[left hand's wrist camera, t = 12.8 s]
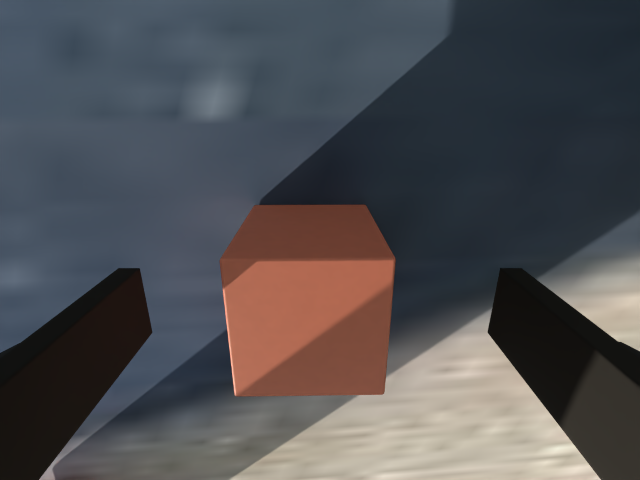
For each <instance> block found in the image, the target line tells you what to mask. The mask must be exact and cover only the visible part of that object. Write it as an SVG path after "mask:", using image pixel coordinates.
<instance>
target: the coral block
mask: <svg viewBox="0 0 640 480" xmlns="http://www.w3.org/2000/svg"><path fill="white" fill-rule="evenodd" d="M395 262H396V259H395V257H394V255H393V253H392V251H391V250H390V248H389V246H388V244H387V242H386V241H385V239H384V237H383V235H382V233H381V232H380V230H379V228H378V226H377V224H376V223H375V221H374V219H373V217H372V215H371V214H370V212H369V210H368V208H367V206H366V205H255V206H254V207H253V208H252V210H251V211H250V213H249V214H248V216H247V218H246V219H245V221H244V222H243V224H242V225H241V227H240V229H239V230H238V232H237V233H236V235H235V236H234V238H233V240H232V241H231V243H230V244H229V246H228V248H227V249H226V251H225V252H224V254H223V255H222V257H221V259H220V268H221V277H222V286H223V295H224V304H225V313H226V322H227V331H228V340H229V348H230V357H231V366H232V375H233V384H234V393H235V396H309V395H382V394H384V392H385V380H386V368H387V356H388V344H389V333H390V321H391V309H392V297H393V285H394V273H395Z"/></svg>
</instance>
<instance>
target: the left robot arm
mask: <svg viewBox="0 0 640 480" xmlns="http://www.w3.org/2000/svg"><path fill="white" fill-rule="evenodd" d="M151 334H152V328H151V323H150V318H149V313H148V308H147V303H146V298H145V293H144V288H143V283H142V278H141V272H140V268H118V269H117V270H116V271H114V272H113V273H112V274H110V275H109V276H108V277H107V278H105V279H104V280H103V281H101V282H100V283H99V284H97V285H96V286H95V287H93V288H92V289H91V290H89V291H88V292H87V293H86V294H84V295H83V296H82V297H80V298H79V299H78V300H76V301H75V302H74V303H72V304H71V305H70V306H68V307H67V308H66V309H64V310H63V311H62V312H61V313H59V314H58V315H57V316H55V317H54V318H53V319H51V320H50V321H49V322H47V323H46V324H45V325H43V326H42V327H41V328H40V329H38V330H37V331H36V332H34V333H33V334H32V335H30V336H29V337H28V338H26V339H25V340H24V341H22V342H21V343H19V344H17V345H15V346H13V347H11V348H9V349H7V350H5V351H3V352H1V353H0V480H39V479H40V478H41V476H42V475H43V474H44V472H45V471H46V470H47V468H48V467H49V466H50V465H51V463H52V462H53V461H54V459H55V458H56V457H57V455H58V454H59V453H60V452H61V450H62V449H63V448H64V446H65V445H66V444H67V443H68V441H69V440H70V439H71V437H72V436H73V435H74V433H75V432H76V431H77V430H78V428H79V427H80V426H81V424H82V423H83V422H84V420H85V419H86V418H87V417H88V415H89V414H90V413H91V411H92V410H93V409H94V408H95V406H96V405H97V404H98V402H99V401H100V400H101V398H102V397H103V396H104V395H105V393H106V392H107V391H108V389H109V388H110V387H111V385H112V384H113V383H114V382H115V380H116V379H117V378H118V376H119V375H120V374H121V373H122V371H123V370H124V369H125V367H126V366H127V365H128V363H129V362H130V361H131V360H132V358H133V357H134V356H135V354H136V353H137V352H138V350H139V349H140V348H141V347H142V345H143V344H144V343H145V341H146V340H147V339H148V337H149V336H150V335H151ZM488 334H489V335H490V336H491V337H492V339H493V340H494V341H495V343H496V344H497V345H498V347H499V348H500V349H501V350H502V352H503V353H504V354H505V356H506V357H507V358H508V360H509V361H510V362H511V363H512V365H513V366H514V367H515V369H516V370H517V371H518V373H519V374H520V375H521V376H522V378H523V379H524V380H525V382H526V383H527V384H528V385H529V387H530V388H531V389H532V391H533V392H534V393H535V395H536V396H537V397H538V398H539V400H540V401H541V402H542V404H543V405H544V406H545V408H546V409H547V410H548V411H549V413H550V414H551V415H552V417H553V418H554V419H555V420H556V422H557V423H558V424H559V426H560V427H561V428H562V430H563V431H564V432H565V433H566V435H567V436H568V437H569V439H570V440H571V441H572V443H573V444H574V445H575V446H576V448H577V449H578V450H579V452H580V453H581V454H582V455H583V457H584V458H585V459H586V461H587V462H588V463H589V465H590V466H591V467H592V468H593V470H594V471H595V472H596V474H597V475H598V476H599V478H600V479H601V480H640V351H638V350H636V349H634V348H632V347H630V346H628V345H626V344H624V343H622V342H618V341H616V340H615V339H614V338H612V337H611V336H610V335H608V334H607V333H606V332H604V331H603V330H602V329H600V328H599V327H598V326H597V325H595V324H594V323H593V322H591V321H590V320H589V319H587V318H586V317H585V316H583V315H582V314H581V313H579V312H578V311H577V310H576V309H574V308H573V307H572V306H570V305H569V304H568V303H566V302H565V301H564V300H562V299H561V298H560V297H558V296H557V295H556V294H554V293H553V292H552V291H551V290H549V289H548V288H547V287H545V286H544V285H543V284H541V283H540V282H539V281H537V280H536V279H535V278H533V277H532V276H531V275H530V274H528V273H527V272H526V271H524V270H523V269H522V268H500V272H499V278H498V283H497V288H496V293H495V298H494V303H493V308H492V313H491V318H490V323H489V328H488Z"/></svg>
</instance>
